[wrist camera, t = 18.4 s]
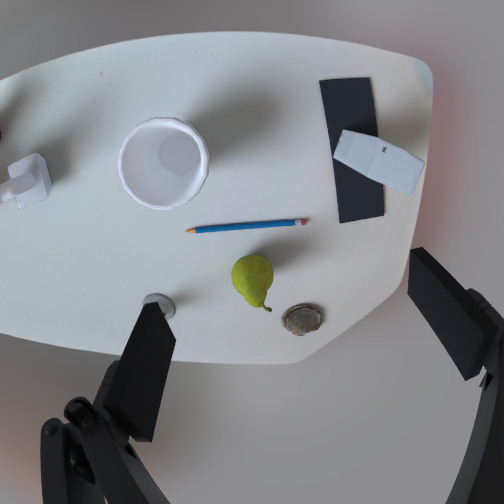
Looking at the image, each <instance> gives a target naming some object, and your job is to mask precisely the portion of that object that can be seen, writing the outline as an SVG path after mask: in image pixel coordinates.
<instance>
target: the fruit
mask: <svg viewBox="0 0 504 504" xmlns="http://www.w3.org/2000/svg"><path fill="white" fill-rule="evenodd" d="M231 275H232V282H233V285H234V287H235V289H236V290H237V291H238V292H239V293H240V294H242V296H243V297H244V298H245V300H246V301H247V302H248V303H249V304H250V305H252V306H253V307H257V308H258V307H261V306H262V307H263V308H264V309H265V310H266V311H269V312H271V311H272V309H271V308H270V307H266V306H265V305H264V300H265V298H266V295H267V290H268V289H269V288H270V286H271V284H272V282H273V268H272V266H271V264H270V262H269V261H268V260H267V259H266V258H264V257H262V256H260V255H248V256H244V257H242V258H240V259H239V260H238V261H237V262H236V263H235V265H234V267H233V269H232V274H231Z"/></svg>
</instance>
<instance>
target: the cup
mask: <svg viewBox="0 0 504 504" xmlns="http://www.w3.org/2000/svg"><path fill="white" fill-rule="evenodd" d="M209 161H210V156H209V152H208V149H207V146H206V143H205V140H204V138H203V137H202V136H201V135H200V134H199V133H198V132H197V130H196V129H195V128H194V127H193V126H192V125H190V124H188V123H186V122H184V121H181V120H179V119H177V118H158V117H155V118H153V119H150V120H148V121H145V122H143V123H141V124H138V125H137V126H136V127H135V128H134V129H133V130H132V131H131V132H130V133H129V135H128V136H127V137H126V138H125V140H124V143H123V145H122V148H121V150H120V153H119V174H120V177H121V179H122V182H123V184H124V187H125V189H126V190H127V191H128V192H129V193H130V194H131V195H132V197H133V198H134V199H135V200H136V201H137V202H139V203H142V204H144V205H146V206H148V207H150V208H152V209H164V210H170V209H173V208H176V207H179V206H182V205H186V204H187V203H188V202H189V201H190V200H191V199H193V198H194V197H195V196H196V195H197V194H198V193H199V192H200V190H201V188H202V186H203V184H204V182H205V180H206V178H207V177H208V174H209Z"/></svg>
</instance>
